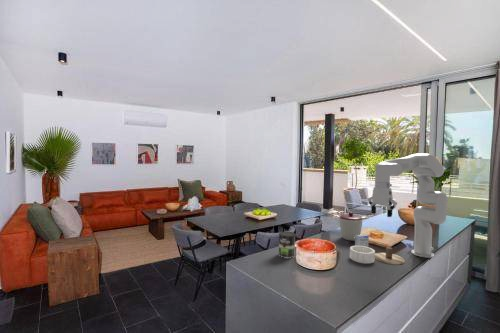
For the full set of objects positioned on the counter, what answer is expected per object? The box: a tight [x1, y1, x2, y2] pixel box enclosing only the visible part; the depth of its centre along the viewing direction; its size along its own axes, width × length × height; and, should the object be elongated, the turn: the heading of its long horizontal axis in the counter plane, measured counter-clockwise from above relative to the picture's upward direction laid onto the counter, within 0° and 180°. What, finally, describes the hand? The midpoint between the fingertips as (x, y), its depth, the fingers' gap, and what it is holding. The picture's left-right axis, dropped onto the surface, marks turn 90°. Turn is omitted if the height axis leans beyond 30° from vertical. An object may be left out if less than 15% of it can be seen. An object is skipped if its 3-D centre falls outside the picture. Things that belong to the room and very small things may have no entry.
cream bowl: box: [349, 245, 376, 264], centre depth 163 cm, size 14×14×6 cm
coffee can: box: [278, 231, 296, 259], centre depth 167 cm, size 10×10×14 cm
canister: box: [338, 211, 364, 242], centre depth 203 cm, size 18×18×21 cm
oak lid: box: [375, 246, 406, 266], centre depth 163 cm, size 17×17×7 cm
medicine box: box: [354, 233, 369, 247], centre depth 184 cm, size 8×4×9 cm, turn 105°
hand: (381, 215), depth 149 cm, fingers open, 9 cm apart
